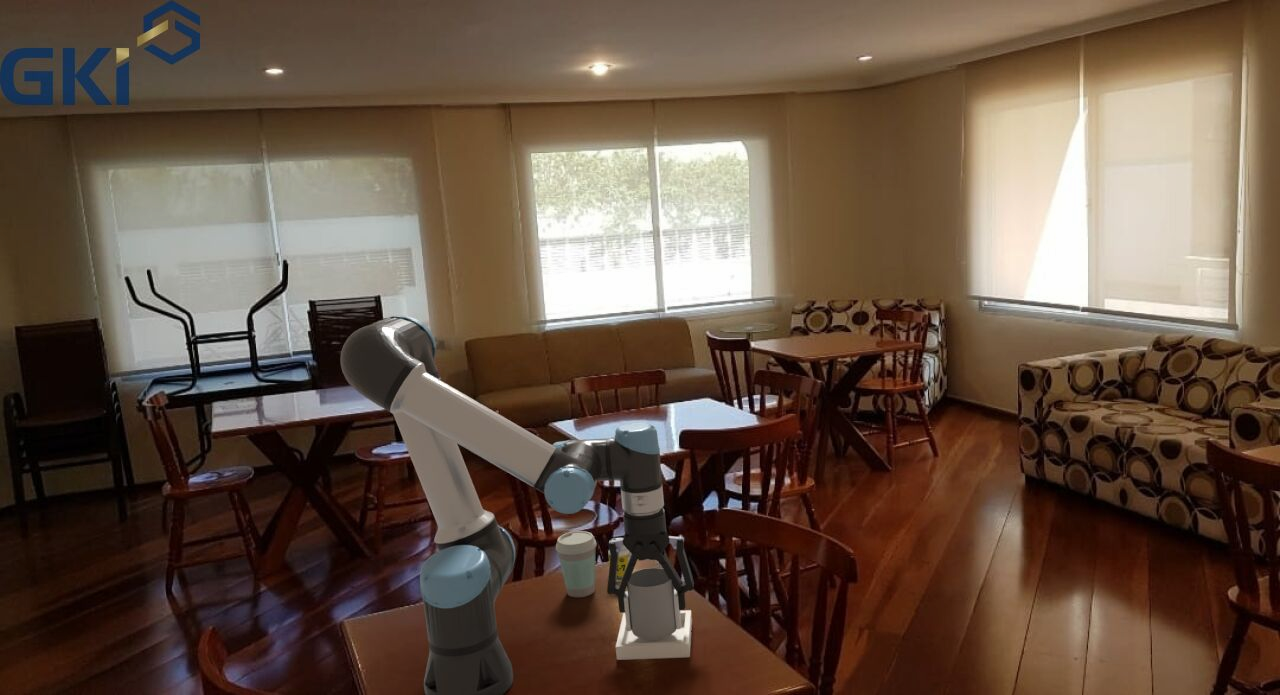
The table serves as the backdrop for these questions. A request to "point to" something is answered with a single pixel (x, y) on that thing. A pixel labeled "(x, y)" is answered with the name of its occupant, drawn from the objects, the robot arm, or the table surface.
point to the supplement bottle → (621, 561)
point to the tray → (655, 642)
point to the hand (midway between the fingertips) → (654, 626)
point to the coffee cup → (577, 562)
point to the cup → (651, 604)
